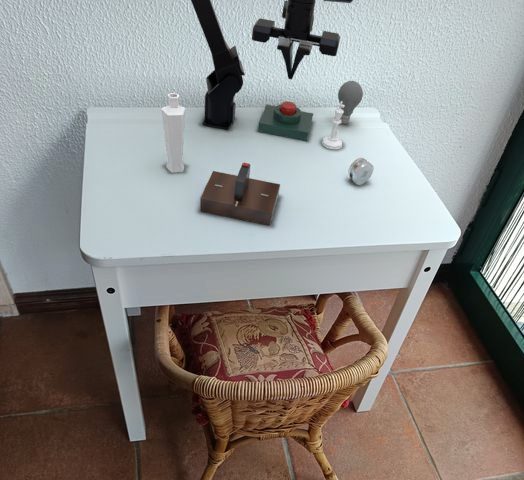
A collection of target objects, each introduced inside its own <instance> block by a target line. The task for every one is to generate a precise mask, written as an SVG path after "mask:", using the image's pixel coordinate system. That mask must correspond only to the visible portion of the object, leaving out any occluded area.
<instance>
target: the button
mask: <svg viewBox="0 0 524 480" xmlns="http://www.w3.org/2000/svg"><path fill="white" fill-rule="evenodd" d="M280 104H281V110H280V112H281V113H283V114H286V115H294V114H295V111H296V107H297V105H296V103H294V102H292V101H282V102H281V103H280Z"/></svg>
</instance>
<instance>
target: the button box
mask: <svg viewBox="0 0 524 480" xmlns="http://www.w3.org/2000/svg"><path fill="white" fill-rule="evenodd" d="M281 104H282V103H280V104H278V105H271V104H265V106H264V108H263V112H262V114H261V116H260V119H259V122H258V128H257V129H258V130H257V132H259V133H263V134H268V135H273V136H279V137H283V138H289V139H292V140H293V139H294V140H299V141H304V142H308V139H309V135H310V132H311V131H310V130H311V127H312V122H313V117H314V113H312V112H307V111H303V110H301V109H300V107H297V106H296V111H295V114H294V115H286V114H283V113H281V112H280V110H281Z"/></svg>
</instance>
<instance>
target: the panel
mask: <svg viewBox="0 0 524 480" xmlns="http://www.w3.org/2000/svg"><path fill="white" fill-rule="evenodd" d="M237 176H238V175H237V174H236V175H235V174H232V173H226V172H221V171H215V170H213V171H212V172H211V174H210V176H209V179H208V181H207V183H206V185H205V187H204V189H203V192H202V194H201V195H200V198H199V199H200V205H199V209H200V210H199V211H200V212H201V213H207V214H210V215H211V214H212V215H217V216H222V217H227V218H231V219H236V220H240V221H241V220H242V221H246V222H252V223H256V224H261V225H266V226H271V224H272V221H273V217H274V215H275V210H276V207H277V203H278V199H279V194H280V188H281V184H280V183H275V182H271V181H266V180H262V179H261V180H260V179H256V178H250V177H249V183H248V186H247V189H246V191H245V194H244V197H243V200H242V201H241V200H236V199H234V193H235V181H236V178H237Z"/></svg>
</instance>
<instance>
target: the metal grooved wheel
mask: <svg viewBox="0 0 524 480" xmlns="http://www.w3.org/2000/svg"><path fill="white" fill-rule="evenodd" d="M373 173H374V165H373V164H372V163H371V162H370V161H368V160H367V159H366V158H364V157H359V158H356V159H355V160H353V161H352V162H351V164H350V165H349V167H348V170H347V176H348V178H349V179H350V180H351V181H353V182H354V183H355V184H356V185H357V186H362V185H364V184H366V183H367V182H368V181H369V180H370V179H371V177H372V176H373Z"/></svg>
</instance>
